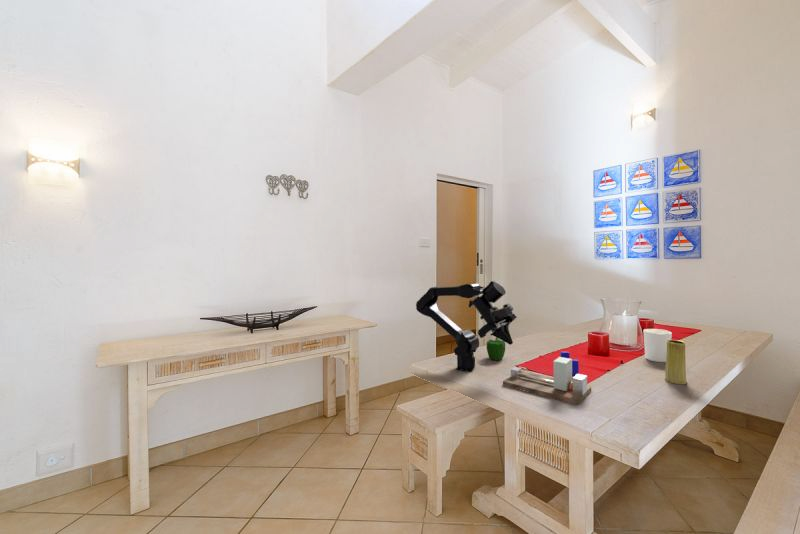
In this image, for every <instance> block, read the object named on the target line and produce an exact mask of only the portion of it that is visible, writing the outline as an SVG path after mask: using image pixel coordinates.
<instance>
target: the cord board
mask: <svg viewBox="0 0 800 534" xmlns="http://www.w3.org/2000/svg"><path fill="white" fill-rule="evenodd" d="M521 374H525V375H530V376H534V377H539V378H543V379H547V380H552V381H554V377H551V376H550V377H549V376H545V375H541V374H536V373H532V372H528V371H523V370H521ZM504 385H505V386H504ZM502 386H504V387H508V386H509V387H508V388H511V387H513V388H512V389H515V388H517V389H516V390H519V389H521V390H520V391H523V390H525V391H524V392H527V391H528V392H527V393H531V392H533V393H532V394H534V393H536V394H535V395H538V394H540V395H539V396H542V395H543V397H546V396H547V398H550V397H551V398H550V399H553V398H554V400H557V399H558V400H557V401H562V402H566V403H568V404H569V403H570V404H573V405H577V406H578V405H579V404H581V403H582V402H583V400H584V399H585V398H586V397H587V396H588V395H589V394H590V393H591V392H592V386H590V385H587V391H586V392H585V394H584V395H583V396H582V395H578V394H574V393H573V391H569V390H567V391H563V390H559V389H555V388H554V385H553V384H549V383H545V382H540V381H536V380H532V379H528V378H523V377H519V378H518V379H515V378H511V375H510V376H509V377H507V378H505V379H504V380H502ZM589 392H590V393H589Z"/></svg>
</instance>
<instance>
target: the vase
mask: <svg viewBox="0 0 800 534" xmlns="http://www.w3.org/2000/svg"><path fill="white" fill-rule="evenodd" d="M686 362H687V361H686V342H685V341H682V340H679V339H678V340H677V339H671V340H667V353H666V362H665V371H664V372H665V373H664V374H665V375H664V380H665V381H666V382H668V383H670V384H675V385H685V384H687V370H686V369H687V367H686V365H687V364H686Z"/></svg>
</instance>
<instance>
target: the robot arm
mask: <svg viewBox="0 0 800 534" xmlns="http://www.w3.org/2000/svg"><path fill="white" fill-rule="evenodd" d="M480 295H481V296H480ZM504 295H506V290H505V288H504V287H503V286H502V285H501V284H499V283H497V282H496V281H495V280H491V281H490V282H489V283H488V284H487V286H485V287H484V286H481V285H480V284H479V283H478V282H471V283H465V284H462V285H458V286H439V287H438V286H432V287H429V289H428V290H427V291H426V292H425V293H424V294H423V295H422V296H421V297H420V298H419V299H418V300H417V301H416V303H415V307H416V308H415V309H416V311H417V312H418V313H419V314H421V315H423V316H426V317H429V318H430V319H432V320H433V321H434V322H435V323H436V324H437V325H439V326H440V328H442V329H443V330H444V331H446V333H448V334H449V335H450V336H451V337H452V338H453V339H454V341H455V343H456V347H455V348H454V349H453V352H454V356H456V359H457V360H456V363H457V364H456V365H457V367H456V368H455V370H457V371H465V372H473V370H474V369H475V368H476V356H475V355H474V353H476V352H477V349H478V348H479V346H480V339H482V338H484V337H486V336H487V334H488V333H489V332H491V333H490V336H493V337H494V338H496V337H497V338H498V340H501V341H504V342H505V344H508V345H509V346H512V345H513V344H514V341H513V339H512V336H511V333H510V329H509V327H510V325H511V324H512V323H513V322H514V321H515V320H516V319H517V318H518V317H517V316H516V314H515V313H513V310H514V308H513V306H512V305H511V304H510V303H505V304H503V305H502V306H503V307H501V308H498V306H493V304H495V303H496V302H497V301H498V300H500V299H501V298H502V297H503V296H504ZM447 296H448V297H449V296H451V297H452V296H453V297H455V296H456V297H460V298H465V299H471V300H469V301H468V302H469V303H468V308H473V307H474V308H475V309H476V310H477V312H478V313H479V314H480V317H479V318H480V320H484V321H485V323H486V324H484V325H483V326H482V327H481V328H479V329H478V330H477V334H478V335H477V334H475V333H474V332H473V331H472V330H471V329H466V330H463V329H462V328H461V327H459V326H458V325H457V324H456V323H455V322H453V321H452V320H451V319H450V318H449V317H448V316H447V315H445V314H444V313H443V312H442V311H440V310H439V307H438V305H437V302H438V299H439V297H447ZM472 298H474V299H472ZM491 303H493V304H491ZM477 336H479V338H480V339H479V338H478V337H477Z"/></svg>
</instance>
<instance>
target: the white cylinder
mask: <svg viewBox="0 0 800 534" xmlns="http://www.w3.org/2000/svg"><path fill="white" fill-rule="evenodd" d="M642 332H643V343H644V344H643V345H644V347H643V348H644V358H645V359H646V360H648V361H652V362H657V363H666V353H667V340H672V336H673V335H672V334H673V333H672V332H671V331H669V330H666V329H662V328H661V329H660V328H659V329H658V328H644V329H643V331H642Z"/></svg>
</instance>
